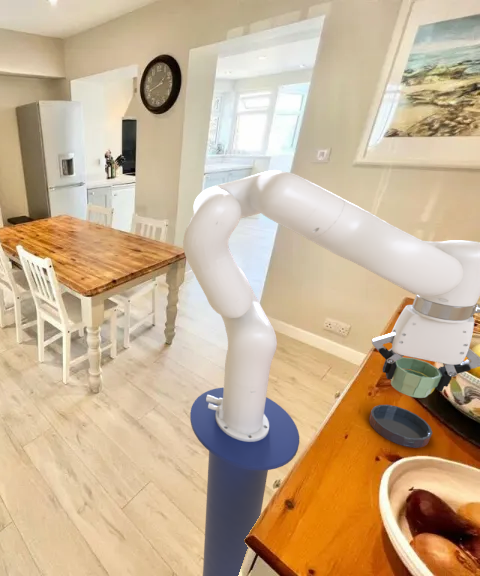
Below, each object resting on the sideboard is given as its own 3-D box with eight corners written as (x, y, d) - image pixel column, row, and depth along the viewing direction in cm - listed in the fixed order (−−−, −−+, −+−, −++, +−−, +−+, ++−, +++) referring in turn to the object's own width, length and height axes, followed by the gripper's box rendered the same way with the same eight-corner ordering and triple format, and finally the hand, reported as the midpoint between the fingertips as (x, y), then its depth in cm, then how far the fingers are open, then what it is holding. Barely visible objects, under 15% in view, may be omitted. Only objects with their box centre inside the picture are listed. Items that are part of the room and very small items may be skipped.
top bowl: (390, 393, 64) (397, 372, 62) (385, 373, 70) (392, 353, 68) (436, 404, 61) (446, 383, 59) (427, 383, 66) (436, 362, 64)
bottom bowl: (371, 436, 70) (373, 428, 69) (367, 406, 77) (369, 399, 76) (433, 455, 64) (437, 447, 63) (422, 421, 72) (426, 414, 71)
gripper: (504, 306, 55) (466, 383, 62) (378, 291, 65) (357, 359, 72) (524, 326, 50) (480, 407, 57) (383, 306, 59) (360, 378, 66)
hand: (411, 380), depth 64 cm, fingers closed on top bowl, 6 cm apart
